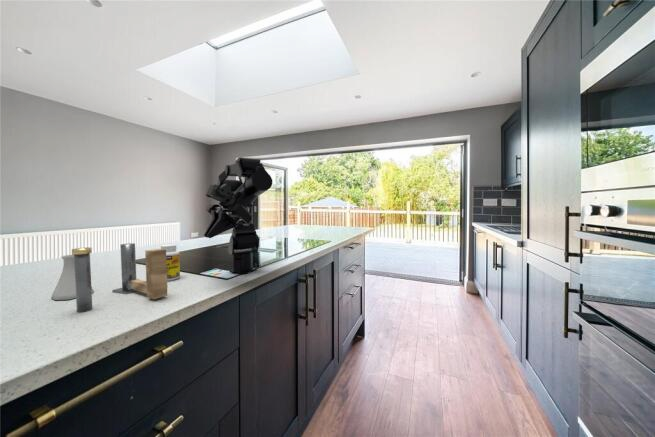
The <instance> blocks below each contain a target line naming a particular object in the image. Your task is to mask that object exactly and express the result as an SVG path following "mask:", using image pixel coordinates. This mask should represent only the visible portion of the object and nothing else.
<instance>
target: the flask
mask: <svg viewBox="0 0 655 437" xmlns="http://www.w3.org/2000/svg"><path fill="white" fill-rule="evenodd" d="M61 259H63V266H62V270H61V271H62V272H61V274H60V276H59V279H58V281H57V284H56V286H55V288H54V290H53V292H52V295H51V297H50V298H51V299H52V300H54V301H61V300H62V301H63V300H64V301H65V300H66V301H67V300H73V299H76V285H75V266H74V255H72V254H65V255H61ZM91 288H92V294H93V293H94V292H95V291H94V289H93V286H91Z"/></svg>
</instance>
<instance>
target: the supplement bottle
mask: <svg viewBox="0 0 655 437" xmlns="http://www.w3.org/2000/svg"><path fill="white" fill-rule="evenodd" d="M160 249H165V250H166V264H167V282H169V281H170V282H171V281H175V280H178V279H179V278H180V277H181V270H180V269H181V268H180V267H181V264H180V259H181V258H180V255H181V254H180V251H179V250H177V244H174V243H173V244H172V243H171V244H170V243H169V244H162V245H160Z"/></svg>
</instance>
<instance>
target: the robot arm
mask: <svg viewBox="0 0 655 437" xmlns="http://www.w3.org/2000/svg"><path fill="white" fill-rule="evenodd" d="M229 177H238V179H239V180H238V179H228V178H229ZM242 178H246V179H245V180H244V182H243V179H242ZM216 181H217V183H214V184H210V185H209V186H208V188H207V191H206V193H205V196H206V197H207V198H211V199H213V200H215V201H217V202H218V204H209V205H208V206H206V208H205V211H206V212H207V213H208V214H210V215H211V220H210V222H209V224H208V226H207V228H206V230H205V232H204V234H203V236H204V237H205V238H209V239H212V238H214V237H216V236H218V235H221V234H223V233H225V232H228V231H229V230H232V231H231V236H230V237H229V242H228V246H227V252H228V254H229V255H231V256H232V269H231V270H229V273H230V272H239V273H238V274H243V273H247V274H249V273H251V272H250V271H252V270H254V269H256V270H257V269H258V268H257V267H254V259H253V253H258V251H259V245H260V244H259V243H260V237H259V235H258V234H257V231H256V228H255V225H254V224H253V220H254V216H253V215H252V213H251V212H250V211H249V210H248V209H251V208H253V202H255V200H256V199H257V198H258V197H259V196H260V195H262V194H263V193H266V192H267V191H269V189H271V188H272V186H273V178H272V177H271V175H270V174H269V173H268V172H267V170H266V169H265V166H264V165H263V163H261V160H260V158H250V157H242V156H241V157H240V156H239V157H238V158H236V160H235V162H234V163H233V164H226V165H225V167H224V170H223V171H222V172H221V173H220V174H219V175H218V177H217V180H216ZM254 271H255V270H254ZM248 272H249V273H248ZM252 272H253V271H252Z"/></svg>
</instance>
